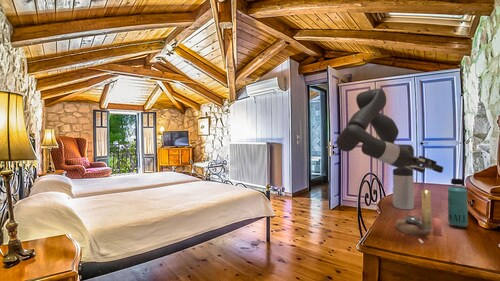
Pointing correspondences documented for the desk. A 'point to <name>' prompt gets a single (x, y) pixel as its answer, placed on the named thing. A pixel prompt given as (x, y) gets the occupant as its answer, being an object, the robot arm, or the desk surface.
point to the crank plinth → (411, 228)
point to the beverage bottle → (457, 204)
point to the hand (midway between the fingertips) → (432, 170)
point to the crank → (423, 212)
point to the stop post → (437, 226)
